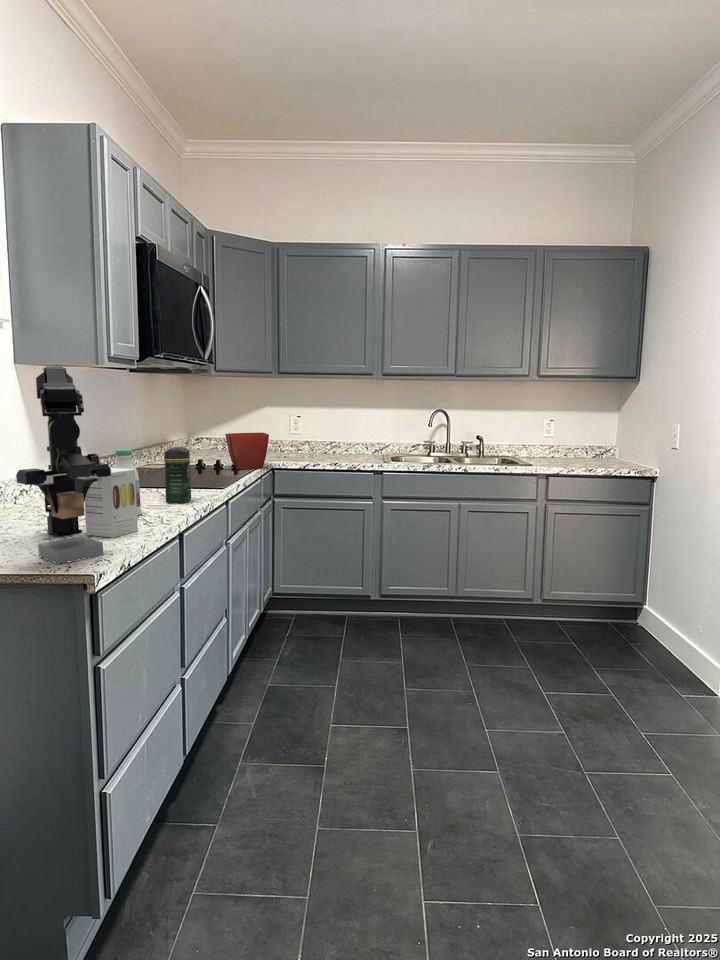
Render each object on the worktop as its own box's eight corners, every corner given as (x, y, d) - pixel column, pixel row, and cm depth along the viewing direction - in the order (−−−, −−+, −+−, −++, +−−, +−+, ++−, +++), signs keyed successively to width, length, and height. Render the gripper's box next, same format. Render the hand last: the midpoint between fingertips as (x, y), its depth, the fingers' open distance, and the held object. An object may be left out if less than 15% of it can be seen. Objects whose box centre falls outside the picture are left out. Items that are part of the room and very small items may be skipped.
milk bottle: (110, 515, 189) (106, 449, 186) (135, 512, 194) (132, 447, 191) (119, 519, 183) (115, 451, 180) (145, 515, 188) (141, 449, 185)
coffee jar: (187, 504, 208) (185, 448, 205) (163, 504, 207) (160, 448, 205) (194, 499, 217) (191, 445, 215) (171, 499, 217) (168, 446, 214)
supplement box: (113, 538, 159) (109, 472, 156) (85, 535, 162) (80, 471, 160) (139, 530, 167) (135, 468, 165) (112, 528, 171) (108, 466, 169)
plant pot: (226, 466, 314) (225, 433, 311) (264, 465, 319) (263, 432, 317) (230, 471, 296) (228, 435, 293) (270, 469, 301) (269, 434, 299)
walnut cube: (74, 512, 144) (72, 491, 143) (84, 515, 141) (83, 493, 140) (52, 516, 140) (50, 494, 139) (62, 519, 137) (60, 496, 136)
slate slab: (82, 548, 149) (81, 535, 148) (103, 555, 142) (102, 542, 142) (38, 556, 141) (37, 543, 141) (59, 564, 135) (58, 550, 134)
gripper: (35, 446, 126) (40, 522, 128) (121, 441, 140) (125, 509, 142) (12, 444, 133) (18, 516, 135) (97, 438, 147) (101, 504, 149)
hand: (68, 511), depth 140 cm, fingers closed on walnut cube, 5 cm apart
